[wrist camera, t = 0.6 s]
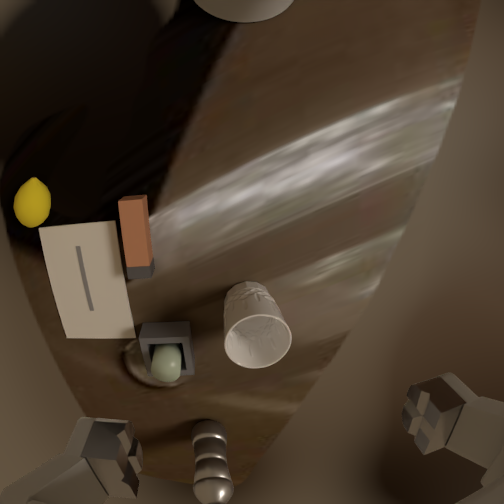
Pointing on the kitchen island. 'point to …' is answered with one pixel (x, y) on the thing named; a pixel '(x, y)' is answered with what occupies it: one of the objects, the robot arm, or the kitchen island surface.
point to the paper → (88, 279)
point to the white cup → (254, 326)
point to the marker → (136, 236)
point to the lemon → (32, 203)
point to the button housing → (168, 334)
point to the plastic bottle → (211, 463)
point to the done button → (166, 362)
